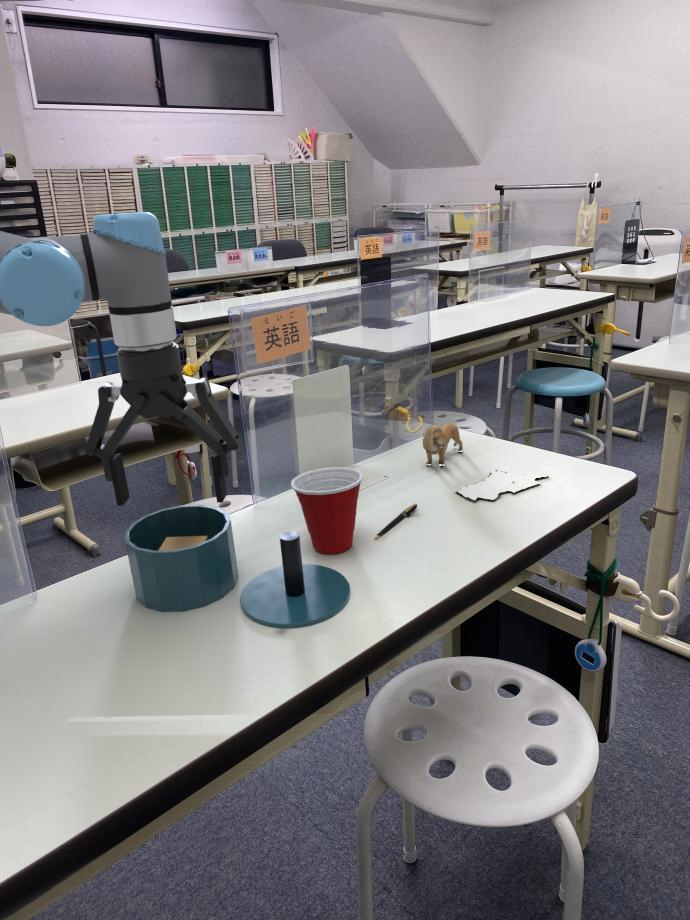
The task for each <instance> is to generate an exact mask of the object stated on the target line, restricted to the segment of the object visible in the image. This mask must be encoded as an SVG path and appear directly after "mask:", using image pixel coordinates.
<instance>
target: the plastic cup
mask: <svg viewBox="0 0 690 920" xmlns="http://www.w3.org/2000/svg"><path fill="white" fill-rule="evenodd" d="M363 474H364V473H363V472H362V471H360V470H358V469H356V468H351V467H343V466H342V467H340V466H331V467H323V468H322V467H321V468H316V469H312V470H309V471H306V472H303V473H301V474H298V475H297V476H295V477H294V478H293V479H292V480H291V482H290V487H291V488H292V489H293V490H294V492H295V494H296V497H297V499H298V502H299V503H300V507H301V510H302V514H303V517H304V521H305V524H306V528H307V532H308V534H309V536H310V540H311V544H312V547H313V549H314V551H316V552H317V553H319V554H321V555H327V556H333V555H340V554H344V553H345V552H347V551H349V550H350V549H351V547H352V546H353V542H354V541H353V540H354V532H355V529H356V528H355V527H356V518H357V509H358V508H357V507H358V499H359V495H360V494H359V493H360V489H361V488H360V487H361V484H362V482H363V479H364V475H363Z"/></svg>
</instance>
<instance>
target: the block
mask: <svg viewBox="0 0 690 920" xmlns="http://www.w3.org/2000/svg"><path fill="white" fill-rule="evenodd" d="M207 540H208V536H185V537H166V539H165V541H164V542H163V544H162V545H161V547H160V549H159V550H158V551H166V550H177V549H182V548H187V547H192V546H195V545H198V544H200V543H202V542H205V541H207Z"/></svg>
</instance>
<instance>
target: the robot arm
mask: <svg viewBox="0 0 690 920" xmlns="http://www.w3.org/2000/svg"><path fill="white" fill-rule="evenodd" d="M91 230H92V232H86V233H83V234H74V235H57V236H39V237H27V236H26V237H25V236H21V235H17V234H13V233H9V232H6V231H1V230H0V314H5V315H10V316H13V317H14V318H15V319H18V320H20V321H21V322H23V323H25V324H27V325H32V326H37V327H53V326H57V325H59V324H62V323H64V322H67V320H69V319H71V318H72V317H73V316H74V315H75V314H76V313H77V312H78V310H79V309H80V307H81V305H82V303H85V302H92V301H93V302H95V301H101V300H106V302H107V306H108V307H107V308H108V312H109V318H110V325H111V330H112V337H113V343H114V345H115V346H117V347H118V349H117V351H116V357H117V363H118V369H119V374H120V378H121V385H120V384H114V383H113V382H111V381H107V382H106V383H104V384H103V385H101V386H100V387H98V389H97V395H98V396H97V397H98V406H97V409H96V412H95V416H94V419H93V422H92V425H91V428H90V432H89V436H88V438H87V443H86V446H85V449H84V453H85V455H86V456H88V457H92V456H94V457H97V458H99V459H100V460H101V462H102V463H101V464H102V467H103V473H104V478H105V480H106V481H107V482H112V486H113V490H114V495H115V501H116V506H117V507H123V506H124V505H125V504H126V503H127V501H128V500H129V499H130V491H129V487H128V481H127V475H126V469H125V465H124V460H123V455H122V453H121V452H120V453H118V452H117V453H115V452H116V451H117V449H118V448H119V446H120V445H121V443H122V441H123V440H124V439H125V437H126V435H127V434H128V432H129V431H130V430H131V428H132V426H133V425H134V423H135V422H136V420H137V419H138V418H139V416H140V417H143V418H144V419H146V420H147V419H153V418H159V419H160V418H161V419H168V418H170V417H171V416H173V417H174V418H175V419H176V420H178V421H180V422H182V423H183V424H184V425H185V426H186V427H187V428H188V429H189V430H190V431H192V432H193V433H194V434H195V435H196V436H197V437H198V438H199V439H200V440H201V441H202V442H203V443H204V444H206V445H207V446H208V447H209V448H210V449H211V450H212V451H213V453H212V455H210V462H211V468H212V476H213V484H214V490H215V497H216V503H218V504H219V503H221V504H223V503H224V501H225V499H226V498H227V496H228V491H227V484H226V478H228V477H229V476H230V474H231V471H232V468H231V460H230V459H231V458H230V452H232V451H233V452H234V451H236V450H238V449H239V447H240V445H241V444H242V437H241V436H240V434H239V433H238V431H237V429H236V428H235V426H234V425H233V423H232V422H231V420H230V419H229V417H228V416H227V415H226V413H225V411H224V410H223V408H222V406H221V405H220V403H219V402H218V401H217V399H216V398H215V396H214V395H213V392H212V389H211V385H210V381H209V379H208V378H207V377H201V378H200V379H199V380H195V381H190V382H189V381H188V382H187V381H186V380H185V378H184V374H183V368H182V361H181V354H180V346H179V344H177V343H176V342H174V341H176V339H177V337H178V335H177V329H176V328H177V327H176V321H175V314H174V307H173V301H172V294H171V293H172V292H171V287H170V280H169V272H168V264H167V257H166V253H167V252H166V250H165V248H164V242H163V237H162V232H161V228H160V222H159V219H158V218H157V217H156V216H155V215H154V214H153V213H151V212H147V211H137V212H136V211H135V212H124V213H123V212H121V213H108V214H97V215H95V216H94V217H93V218H92V229H91ZM188 393H189V394H191V395H192V397H193V398H194V399H196V400H198V402H199V404H200V406H201V408H202V410H203V411H204V412H205V414H206V416H207V417H208V418H209V420H210V421H211V423H212V424H213V426H214V427H215V429H214V428H213V427H212V426H211V425H210V424H209V423H208V422H207V421H206V420H205V419H204V418H203V417H201V415H200V414H198V413H197V412H196V411H195V410H194V408H193V406H192V405H191V404H190V403H189V402H188V401H187V400H186V399H185V398H186V396H187V394H188ZM120 396H121V398H122V399H123V400H125V402H126V403H127V404H128V405H129V407H128V409H127V411H126V412H125V413H124V415H123V417H122V419H121V420H120V421H119V423H118V425H117V426H116V428H115V429H114V431H113V432H112V434H111V435H110V436H109V439H108V440H107V442H106V443H105V444H103V441H104V438H105V435H106V432H107V429H108V425H109V421H110V419H111V416H112V413H113V409H114V407H115V402H117V401H118V400H119V398H120ZM216 430H217V431H216Z"/></svg>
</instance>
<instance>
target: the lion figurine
mask: <svg viewBox="0 0 690 920" xmlns="http://www.w3.org/2000/svg"><path fill="white" fill-rule="evenodd" d="M422 435H423V438H422V448H423V449H424V450H425V453H426V454H425V455H426V457H427V458H426V459H427V461H426V462H425V465H426V464H432V465H433V456H435V455H438V465H439V464H442V465H443V464H444V463H445V454H446V451H447V449H448V445H449V443H450V441H451V440H452V441H453V442H454V443H453V447H458V449H457V450H458V451H461V450H463V451H464V447H463V445H464V444H463V441H462V439H461V437H460V429H459V427H458V426H457V425H456V424H455V423H452V422H450V423H445V424H443V425H442V426H438V425H436V424H433V425H429V426H427V428H425V430H424V431H423V434H422ZM457 445H458V446H457Z"/></svg>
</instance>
